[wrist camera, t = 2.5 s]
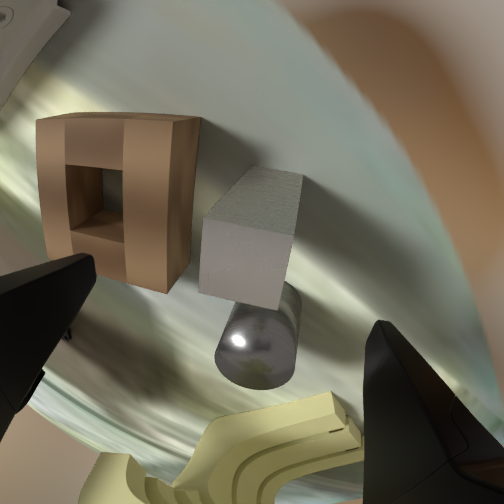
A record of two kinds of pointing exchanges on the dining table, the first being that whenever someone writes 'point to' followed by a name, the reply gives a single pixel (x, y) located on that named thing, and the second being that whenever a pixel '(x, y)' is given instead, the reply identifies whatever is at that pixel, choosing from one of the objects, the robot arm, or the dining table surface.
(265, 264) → the square bit
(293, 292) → the cylinder
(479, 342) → the dining table surface
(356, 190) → the dining table surface
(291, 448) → the slatted curved stool
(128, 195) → the socket block
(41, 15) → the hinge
